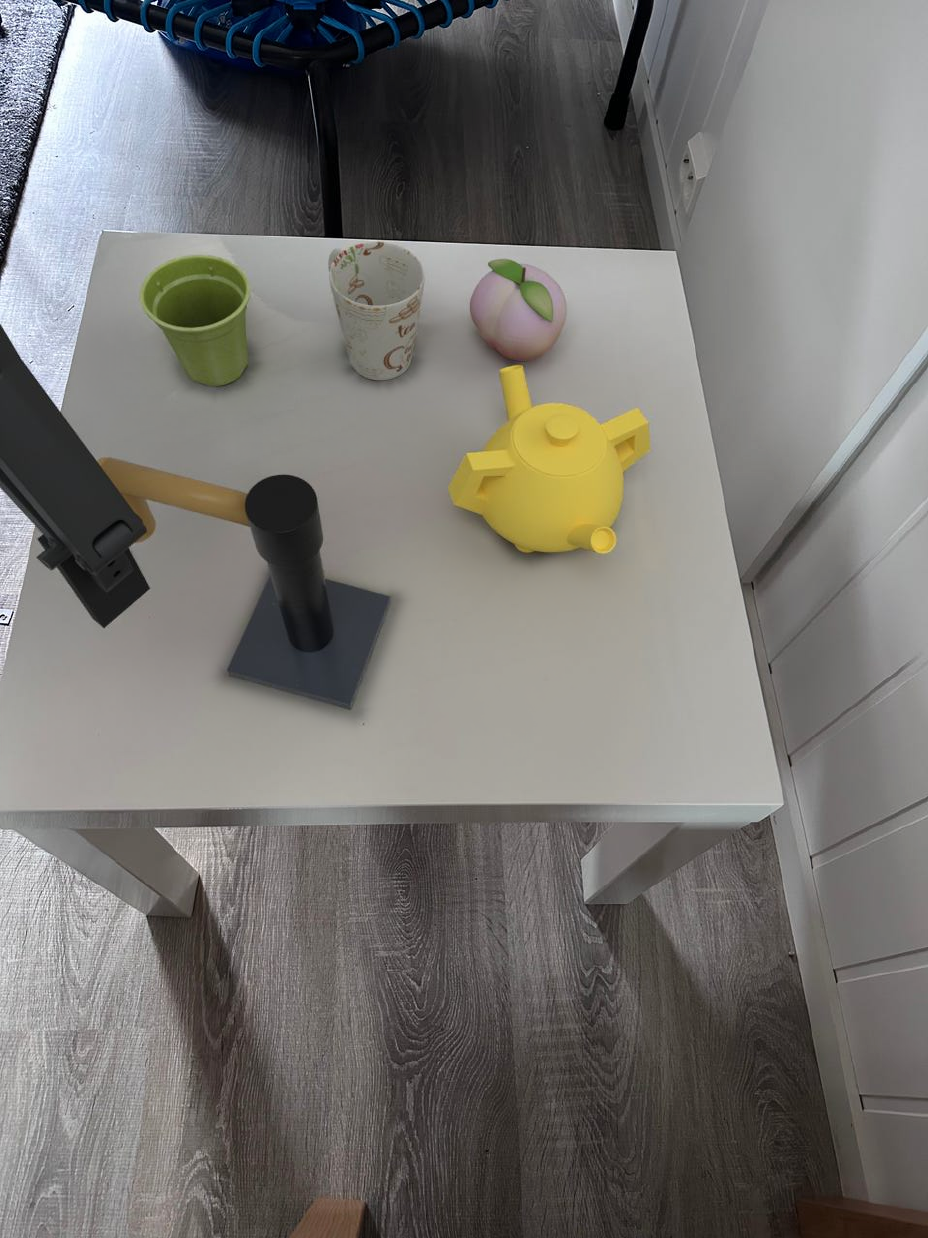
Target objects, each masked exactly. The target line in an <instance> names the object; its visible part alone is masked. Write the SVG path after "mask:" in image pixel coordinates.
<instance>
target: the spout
mask: <svg viewBox="0 0 928 1238" xmlns="http://www.w3.org/2000/svg"><path fill="white" fill-rule="evenodd" d="M96 461H97V462H98V463H99V465H100V466H101V467H102V469H103V470H104V472H105V473H106V474H107V476H108V477H109V478H110V480H111V481H112V482H113V484H114V485H115V486H116V488H117V489H118V490H119V492H120V493H121V495H122V496H123V497H124V499H125V500H126V501H127V503H128V504H129V505H130V507H131V508H132V509H133V511H134V512H135V513H136V514H137V515H138V516H139V517H140V518H141V519H142V521H143V524H144V526H145V527H146V530H147V533H146V534H144V535H143V536H142V537H141V538H140V539H138V540H137V541H136V542H135V543H134V544H138V543H142V542H144V541H146V540H148V539H149V538H150V537H151V536H152V535H153V534H154V532H155V531H156V527H157V526H156V525H157V521H156V519H155V517H154V514H153V512H152V510H151V508H150V506H149V504H148V502H147V500H148V501H152V502H155V503H159V504H163V505H166V506H170V507H175V508H177V509H182V510H185V511H189V512H192V513H197V514H199V515H200V514H201V515H204V516H208V517H212V518H215V519H220V520H223V521H225V522H226V521H227V522H230V523H234V524H237V525H241V526H246V527H249V528H250V533H251V535H252V538H253V542H254V545H255V548H256V551H257V553H258V554H259V556H260V557H261V558H262V559H263V560H264V561H266V563H267V562H269V563H271V564H273V565H276V566H279V567H295V566H299V565H302V564H304V563H306V562H308V561H310V560H311V559H312V558H314V557H315V556H316V555H317V553H318V552H319V550H320V551H321V549H322V546H323V543H324V531H323V526H322V519H321V513H320V508H319V507H320V506H319V500H318V496H317V493H316V491H315V489H314V487H313V486H312V485H311V484H310V483H309V482H308V481H306V480H304V479H303V478H301V477H299V476H296V475H292V474H284V473H283V474H282V473H281V474H274V475H270V476H267V477H264V478H263V479H260V480H259V481H258V482H256V483H255V484H254V485H253V486H252V487H251V488H250V489H249V491H248V492H245V491H244V492H243V491H240V490H236V489H232V488H228V487H224V486H221V485H217V484H213V483H209V482H205V481H202V480H198V479H194V478H191V477H186V476H183V475H179V474H175V473H171V472H168V471H163V470H160V469H156V468H152V467H148V466H145V465H142V464H137V463H133V462H129V461H126V460H123V459H122V460H121V459H118V458H115V457H110V456H106V457H105V456H104V457H101V458H99V459H96Z"/></svg>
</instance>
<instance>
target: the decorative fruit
mask: <svg viewBox="0 0 928 1238" xmlns="http://www.w3.org/2000/svg"><path fill="white" fill-rule="evenodd" d="M487 266H488V267H489V268H490V269H491V270H490V271H489V272H487V273H486V274H485V275H484V276H483V277H482V278H481V279H480V280H479V282H478V283H477V284H476V286H475V288H474V290H473V291H472V293H471V297H470V300H469V313H470V316H471V319H472V322H473V324H474V326H475V328H476V330H477V331H478V333H479V335H480V336H481V338H482V339H483V341H485V342H486V343H487V344H488V345H489V346H490V347H491V348H493V349H495V350H496V351H498V352H499V353H500V355H502V356H503V357H505V358H506V359H510V360H513V361H532V360H535V359H538V358H541V357H543V356H544V355H545V354H547V353H548V352H549V351H550V350H551V349H552V348H553V346H554V345H555V343H556V342H557V340H558V339H559V337H560V335H561V333H562V330H563V328H564V326H565V323H566V319H567V315H568V309H567V308H568V307H567V305H568V304H567V300H566V296H565V294H564V291H563V289H562V288H561V286H560V284H559V283H558V282H557V281H556V280H555V279H554V278H553V277H552V276H551V275H550V274H549V273H547V272H546V271H545V270H543V269H541V268H540V267H537V266H535V265H532V264H528V263H519V262H517V261H515V260H513V259H509V258H498V259H492V260H490V261H489V262H487Z"/></svg>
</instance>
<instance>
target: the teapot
mask: <svg viewBox="0 0 928 1238" xmlns="http://www.w3.org/2000/svg"><path fill="white" fill-rule="evenodd" d="M498 373H499V378H500V384H501V389H502V394H503V399H504V400H503V401H504V406H505V410H506V416H507V421H506V422H505V423H503V425H502V426H500V427H499V428H498V429H497V430H496V431H495V432H494V433H493V434H492V435H491V437H490V438H489V440H488V441H487V442H486V443H485V445H484V447H483V449H482V451H476V452H466V453H465V455H464V457H463V459H462V460H461V463H460V464H459V466H458V468H457V470H456V472H455V473H454V475H453V478H452V479H451V481H450V483H449V485H448V487H447V490H448V492H449V495H450V498H451V500H452V503H453V506H457V507H459V508H462V509H465V510H466V511H467V510H468V511H470V512H473V513H475V514H479V515H481V516H482V517H483V519H484V521H486V523H487V524H488V526H490V527H491V529H493V531H495V533H497V534H498V535H499V536H501V537H502V538H503V539H504V540H507V541H508V542H510V543H512V544H514V547H515V548H516V549H517V550H518V551H520V552H522V553H526V554H527V553H533V552H542V553H563V552H570V551H573V550H577V549H584V550H587V551H591V552H594V553H598V554H603V555H604V554H608V553H610V552H611V551H613V549H614V548H615V546H616V544H617V535H616V533H615V531H614V530H613V529H612V528H611V527H612V526H613V525H614V523H615V521H616V520H617V517H619V513H620V511H621V507H622V504H623V498H624V491H625V490H624V485H625V482H624V481H625V479H624V473H625V471H627V470H628V469H629V468H630V467H632V465H634V464H635V463H637V462H638V461H639V460H640V459H641V458H642V457H644V456H645V455H646V454H647V453H649V451H651V439H650V426H649V421H648V420H647V418H646V417H645V416H644V414H643V413H642V411H641V410H640V409H639V407H636V408H633V409H631V410H629V411H627V412H624V413H622V414H620V415H617V416H616V417H613V418H612V419H609V420H607V421H605V422H603V423H600V422H599V421H598V420H597V419H596V418H595V417H593V416H592V415H591V414H590V413H588V412H587V411H585V410H583V409H582V408H580V407H577V406H574V405H571V404H567V403H562V402H560V403H559V402H549V403H542V404H537V405H535V406H533V405H532V401H531V396H530V392H529V387H528V383H527V379H526V374H525V370H524V366H523V364H515V365H510V366H505V367H503V368H500V369H499V370H498Z"/></svg>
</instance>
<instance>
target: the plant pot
mask: <svg viewBox="0 0 928 1238" xmlns="http://www.w3.org/2000/svg"><path fill="white" fill-rule="evenodd" d="M250 297H251V285H250V280H249V278H248V276H247V275H246V274H245V272H244V270H243V269H242V268H240V266H238V265H236V264H235V263H233V262H232V261H230V260H228V259H226V258H222V257H220V256H216V255H210V254H209V255H208V254H189V255H184V256H180V257H176V258H173V259H170V260H167V261H166V262H163V263H162V264H160V265H158V266H157V267H155V268H154V269H153V270H152V271H151V272H149V274H147V276H146V277H145V279H144V280H143V282H142V284H141V286H140V290H139V302H140V305H141V308H142V310H143V312H144V314H146V315H147V317H148V319H150V320H151V321H152V322H153V323H154V324H156V326H157V327H158V328H159V329H160V330H161V331H162V333H163V334H164V336H165V338H166V340H167V341H168V344H169V345H170V347H171V349H172V351H173V352H174V354H175V356H176V358H177V360H178V362H179V364H180V366H181V368H182V369H183V371H184V374H185V375H186V376H187V377H188V379H190V380H191V381H192V382H195V383H200V384H203V385H206V386H208V387H221V386H225V385H228V384H230V383H233V382H234V381H236V380H238V379H239V378H241V376H242V374H243V373H244V371H245V369H246V367H247V366H248V364H249V354H248V353H249V352H248V340H247V339H248V338H247V322H246V321H247V320H246V312H247V308H248V303H249V301H250Z"/></svg>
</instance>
